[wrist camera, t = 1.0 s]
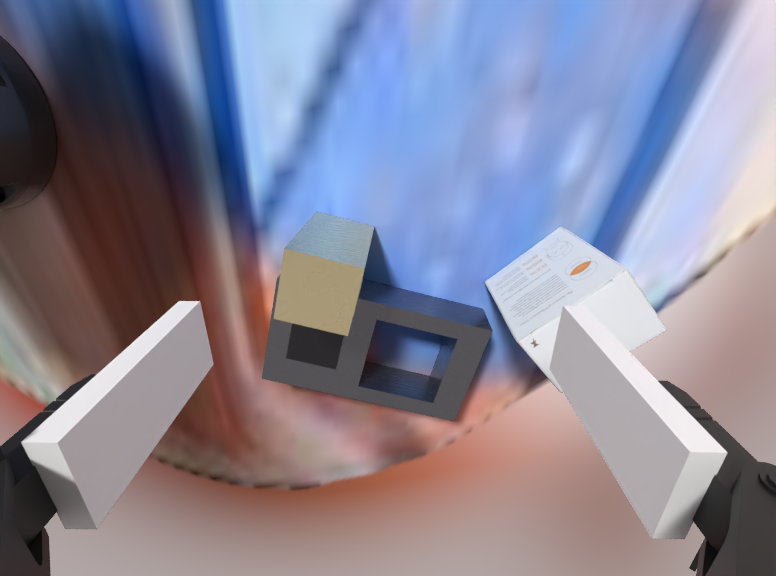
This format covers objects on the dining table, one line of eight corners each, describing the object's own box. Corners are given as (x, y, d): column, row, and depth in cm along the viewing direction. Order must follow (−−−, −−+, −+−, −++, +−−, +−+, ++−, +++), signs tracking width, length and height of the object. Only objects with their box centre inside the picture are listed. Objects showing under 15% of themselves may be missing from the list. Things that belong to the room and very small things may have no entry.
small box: (517, 322, 37) (559, 397, 27) (482, 280, 35) (513, 343, 25) (595, 271, 34) (671, 331, 25) (561, 223, 33) (629, 268, 23)
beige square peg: (306, 265, 35) (272, 318, 26) (316, 211, 33) (283, 248, 24) (362, 278, 35) (348, 336, 26) (375, 226, 33) (365, 268, 24)
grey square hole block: (274, 353, 39) (261, 379, 35) (289, 261, 35) (276, 279, 31) (449, 393, 40) (454, 422, 36) (483, 308, 36) (492, 331, 32)
